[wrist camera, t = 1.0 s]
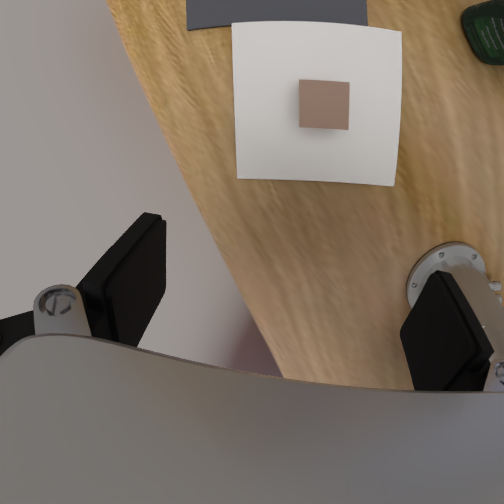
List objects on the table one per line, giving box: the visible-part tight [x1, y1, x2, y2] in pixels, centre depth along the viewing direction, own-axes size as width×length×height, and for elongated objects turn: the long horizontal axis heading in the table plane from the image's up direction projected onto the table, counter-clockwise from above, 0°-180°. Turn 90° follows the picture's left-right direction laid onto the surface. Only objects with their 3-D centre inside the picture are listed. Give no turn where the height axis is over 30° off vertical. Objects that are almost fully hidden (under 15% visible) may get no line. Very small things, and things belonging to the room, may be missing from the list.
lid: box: [232, 21, 402, 186], centre depth 23 cm, size 15×15×7 cm
